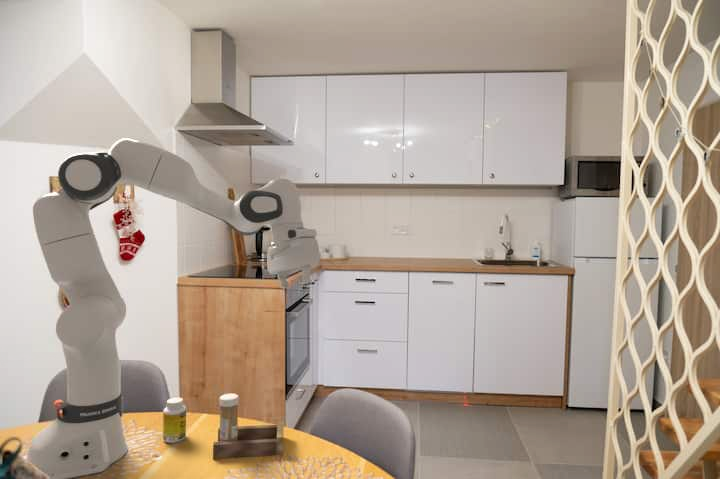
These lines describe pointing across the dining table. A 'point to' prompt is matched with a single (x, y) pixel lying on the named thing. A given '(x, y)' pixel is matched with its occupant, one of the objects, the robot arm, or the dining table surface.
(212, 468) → the dining table surface
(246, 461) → the dining table surface
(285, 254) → the robot arm
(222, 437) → the spice jar
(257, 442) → the guide rail
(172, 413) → the supplement bottle
